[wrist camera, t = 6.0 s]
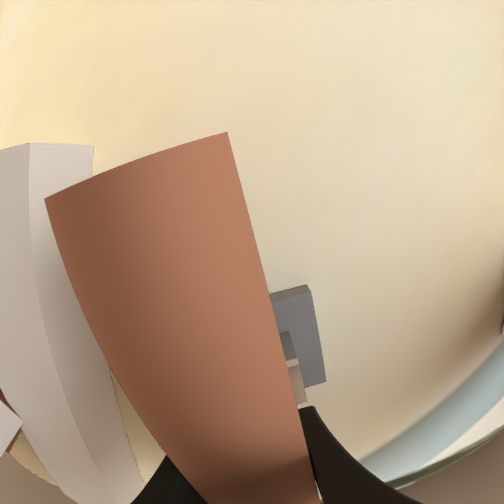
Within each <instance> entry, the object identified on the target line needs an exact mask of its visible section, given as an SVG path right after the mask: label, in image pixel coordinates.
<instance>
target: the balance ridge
mask: <svg viewBox="0 0 504 504" xmlns="http://www.w3.org/2000/svg"><path fill="white" fill-rule="evenodd" d="M269 296H270V300H271V304H272V308H273V312H274V316H275V320H276V324H277V328H278V332H279V336H280V340H281V344H282V348H283V352H284V356H285V360H286V364H287V368H288V372H289V376H290V380H291V384H292V388H293V392H294V396H295V400H296V404H300V403H304V402H307V398H306V393H305V389H304V388H305V387H309V386H313V385H316V384H320V383H323V382H326V375H325V369H324V363H323V356H322V350H321V344H320V339H319V333H318V327H317V321H316V316H315V310H314V305H313V300H312V295H311V291H310V289H309V288H308V286H307V285H304V286H300V287H296V288H292V289H289V290H285V291H281V292H277V293H273V294H269Z"/></svg>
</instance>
